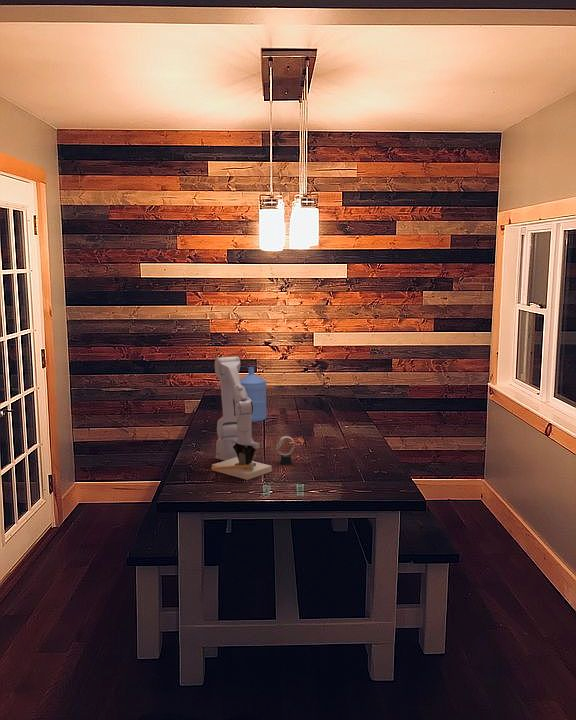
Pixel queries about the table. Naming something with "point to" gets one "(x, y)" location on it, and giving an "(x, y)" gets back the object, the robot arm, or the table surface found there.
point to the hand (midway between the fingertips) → (245, 463)
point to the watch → (285, 456)
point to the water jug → (256, 394)
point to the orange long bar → (235, 467)
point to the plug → (242, 459)
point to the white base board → (242, 472)
